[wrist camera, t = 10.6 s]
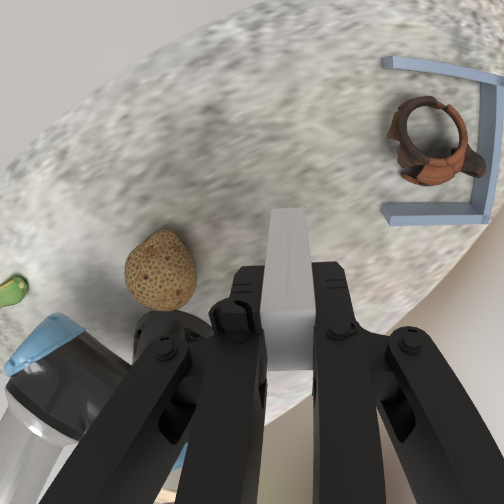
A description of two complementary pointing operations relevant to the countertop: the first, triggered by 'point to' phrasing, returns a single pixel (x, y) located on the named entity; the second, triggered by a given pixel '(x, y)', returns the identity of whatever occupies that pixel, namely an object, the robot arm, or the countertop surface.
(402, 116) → the brown curved ring piece
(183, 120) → the countertop surface
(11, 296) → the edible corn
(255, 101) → the countertop surface
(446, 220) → the blue-grey u-shaped frame
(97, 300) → the countertop surface
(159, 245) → the natural sponge
